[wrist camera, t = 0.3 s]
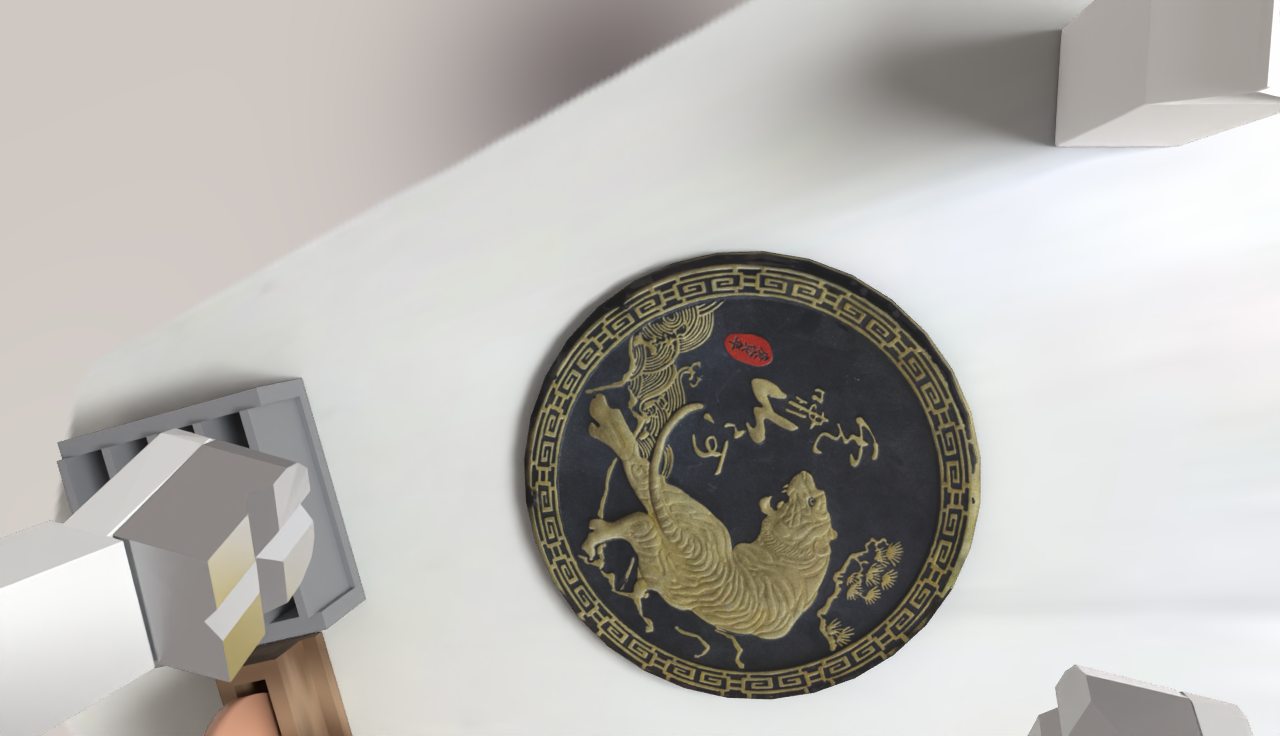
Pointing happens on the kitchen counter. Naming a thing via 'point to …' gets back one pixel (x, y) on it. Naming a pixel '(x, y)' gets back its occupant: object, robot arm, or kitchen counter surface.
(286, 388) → the charcoal dish rack
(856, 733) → the kitchen counter surface
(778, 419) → the decorative plate
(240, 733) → the terracotta plate
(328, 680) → the walnut plate stand
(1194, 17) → the milk carton
